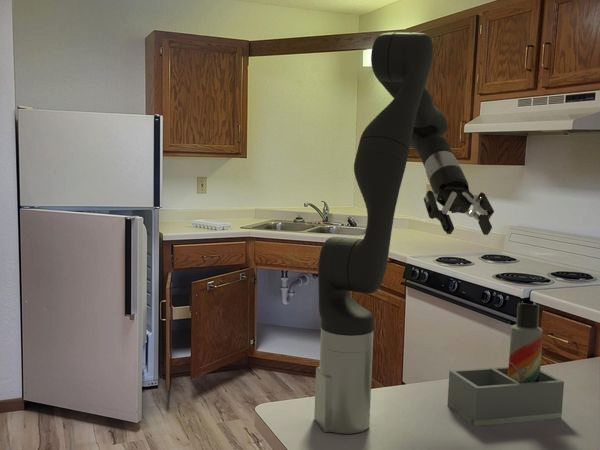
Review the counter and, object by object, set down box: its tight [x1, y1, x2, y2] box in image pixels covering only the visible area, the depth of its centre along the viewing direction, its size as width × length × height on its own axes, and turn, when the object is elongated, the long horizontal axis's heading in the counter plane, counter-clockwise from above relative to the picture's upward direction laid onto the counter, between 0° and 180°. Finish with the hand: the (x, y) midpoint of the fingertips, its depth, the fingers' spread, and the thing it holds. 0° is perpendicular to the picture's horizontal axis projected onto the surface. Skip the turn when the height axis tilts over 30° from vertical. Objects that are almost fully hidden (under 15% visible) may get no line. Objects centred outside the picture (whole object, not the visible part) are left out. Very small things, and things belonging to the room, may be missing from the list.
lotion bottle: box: [507, 302, 544, 383], centre depth 113 cm, size 6×6×20 cm
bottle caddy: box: [447, 366, 565, 427], centre depth 112 cm, size 18×10×7 cm, turn 105°
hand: (469, 232), depth 121 cm, fingers open, 8 cm apart
